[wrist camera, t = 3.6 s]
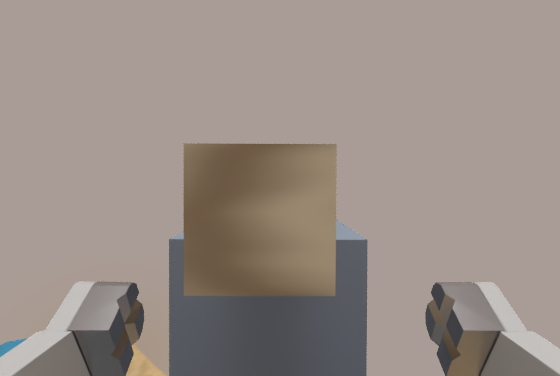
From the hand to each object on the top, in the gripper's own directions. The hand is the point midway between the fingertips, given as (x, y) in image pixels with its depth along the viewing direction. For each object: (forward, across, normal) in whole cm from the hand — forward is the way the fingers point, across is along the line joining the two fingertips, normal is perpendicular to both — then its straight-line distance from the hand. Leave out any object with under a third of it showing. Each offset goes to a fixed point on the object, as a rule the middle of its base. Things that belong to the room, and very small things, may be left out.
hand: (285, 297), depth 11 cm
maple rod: (+7, -1, -4) cm, 8 cm away
